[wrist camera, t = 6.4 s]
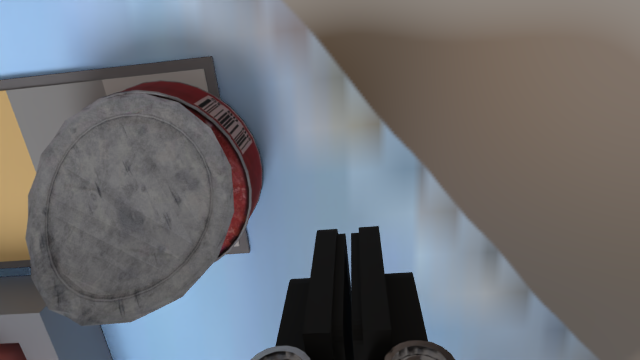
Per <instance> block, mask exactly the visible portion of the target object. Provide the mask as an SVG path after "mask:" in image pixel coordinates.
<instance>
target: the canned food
mask: <svg viewBox="0 0 640 360" xmlns="http://www.w3.org/2000/svg"><path fill="white" fill-rule="evenodd" d="M262 172H263V169H262V164H261V158H260V153H259V150H258V148H257V145H256V143H255V140H254V138H253V136H252V134H251V132H250V131H249V129H248V128H247V126H246V125H245V123H244V121H243V120H242V119H241V118H240V117H239V116H238V115H237V114H236V113H235V111H234V110H233V109H232V108H231V107H230V106H228V105H227V104H226V103H224V102H223V101H222V100H220V99H219V98H218V97H216V96H215V95H213V94H211V93H209V92H207V91H205V90H203V89H201V88H199V87H196V86H193V85H189V84H186V83H182V82H177V81H165V80H159V81H151V82H143V83H140V84H138V85H135V86H132V87H129V88H127V89H125V90H123V91H120V92H116V93H113V94H110V95H108V96H105V97H102V98H99V99H97V100H96V101H94V102H93V103H91V104H90V105H88V106H86V107H85V108H83V109H82V110H81V111H80V112H78V113H76V114H75V115H73V116H72V117H70V118H68V119H67V120H65V121H64V123H63V124H62V126H61V127H60V129H59V131H58V132H57V134H56V135H55V137H54V138H53V140H52V141H51V142H50V143H49V145H48V146H47V147H46V149H45V150H44V151H43V152H42V154H41V156H40V160H39V164H38V168H37V172H36V176H35V179H34V181H33V184H32V186H31V189H30V191H29V194H28V222H27V229H26V237H25V239H26V243H27V247H28V251H29V255H30V264H31V279H32V281H33V282H34V284H35V286H36V288H37V290H38V292H39V293H40V295H41V297H42V299H43V300H44V302H45V304H46V306H47V307H48V309H49V310H51V311H54V312H56V313H58V314H61V315H63V316H65V317H68V318H69V319H71V320H72V321H74V322H76V323H77V324H79V325H80V326H89V325H101V324H114V323H126V322H132V321H134V320H136V319H139V318H141V317H143V316H145V315H147V314H149V313H151V312H153V311H155V310H157V309H159V308H161V307H163V306H165V305H167V304H169V303H171V302H173V301H175V300H177V299H179V298H181V297H182V296H183V295H184V294H185V293H186V292H187V291H188V290H189V289H190V288H191V287H192V286H193V285H194V283H195V282H196V281H197V280H198V279H199V278H200V277H201V276H202V275H203V274H204V273H205V271H206V270H207V269H208V268H209V267H210V266H211V265H212V264H213V263H214V262H216V261H218V260H219V259H220V258H221V257H223V256H224V255H225V254H227V253H228V252H229V251H230V250H231V249H232V248H233V247H234V245H235V244H236V243H237V242H238V240H239V239H240V238H241V236H242V234H243V232H244V230H245V228H246V226H247V224H248V220H249V218H250V216H251V215H252V213H253V211H254V209H255V207H256V205H257V203H258V201H259V197H260V192H261V188H262Z"/></svg>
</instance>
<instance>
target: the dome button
mask: <svg viewBox="0 0 640 360" xmlns="http://www.w3.org/2000/svg"><path fill="white" fill-rule="evenodd" d="M0 360H27V359H26V357H25V355H24V353H23V351H22V348H21V346H20V344H19V343H5V344H0Z"/></svg>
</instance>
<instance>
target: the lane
mask: <svg viewBox="0 0 640 360" xmlns="http://www.w3.org/2000/svg"><path fill="white" fill-rule="evenodd" d="M159 80H165V81H177V82H182V83H186V84H189V85H193V86H196V87H199V88H201V89H203V90H205V91H207V92H209V93H211V94H213V95H215V96H216V97H218V98H219V99H220V94H219V89H218V84H217V79H216V74H215V68H214V63H213V58H212V56H210V57H201V58H192V59H183V60H174V61H165V62H156V63H147V64H138V65H129V66H120V67H112V68H103V69H94V70H85V71H76V72H67V73H58V74H49V75H40V76H31V77H22V78H13V79H4V80H0V269H1V268H17V267H31V264H30V255H29V251H28V247H27V243H26V239H25V237H26V229H27V222H28V194H29V191H30V189H31V186H32V184H33V181H34V179H35V176H36V172H37V168H38V164H39V160H40V156H41V154H42V152H43V151H44V150H45V149H46V147H47V146H48V145H49V143H50V142H51V141H52V140H53V138H54V137H55V135H56V134H57V132H58V131H59V129H60V127H61V126H62V124H63V123H64V121H65V120H67V119H68V118H70V117H72V116H73V115H75V114H76V113H78V112H80V111H81V110H82V109H83V108H85V107H86V106H88V105H90V104H91V103H93V102H94V101H96V100H97V99H99V98H102V97H105V96H108V95H110V94H113V93H116V92H120V91H123V90H125V89H127V88H129V87H132V86H135V85H138V84H140V83H143V82H151V81H159ZM220 100H221V99H220ZM238 253H250V248H249V243H248V238H247V232H246V228H245V230H244V232H243V234H242V236H241V238H240V239H239V240H238V242H237V243H236V244H235V245H234V247H233V248H232V249H231V250H230V251H229V252H228V253H227V254H238Z"/></svg>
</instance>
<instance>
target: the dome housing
mask: <svg viewBox="0 0 640 360" xmlns="http://www.w3.org/2000/svg"><path fill="white" fill-rule="evenodd" d="M5 343H19V344H20V346H21V348H22V351H23V353H24V355H25V357H26V359H27V360H112V357H111V354H110V351H109V349H108V346H107V343H106V340H105V338H104V335H103V332H102V329H101V327H100V325H89V326H80V325H79V324H77V323H76V322H74V321H72V320H71V319H69V318H68V317H65V316H63V315H61V314H58V313H56V312H54V311H51V310H49V309H48V307H47V306H46V304H45V302H44V300H43V299H42V297H41V295H40V293H39V292H38V290H37V288H36V286H35V284H34V282H33V281H32V279H31V275H26V276H10V277H0V344H5Z"/></svg>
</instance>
